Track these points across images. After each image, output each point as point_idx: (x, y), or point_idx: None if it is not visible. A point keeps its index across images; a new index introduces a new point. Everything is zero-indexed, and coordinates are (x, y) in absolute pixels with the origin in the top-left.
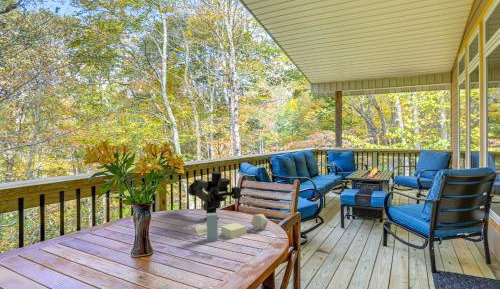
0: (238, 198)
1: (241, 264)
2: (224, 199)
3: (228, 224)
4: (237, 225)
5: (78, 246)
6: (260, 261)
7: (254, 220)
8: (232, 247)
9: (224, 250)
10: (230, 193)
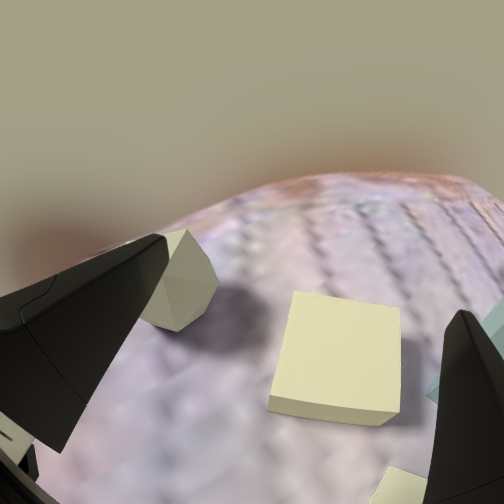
0: (157, 283)
1: (449, 205)
2: (465, 314)
3: (335, 406)
4: (311, 340)
5: None
6: (407, 185)
7: (208, 271)
8: (428, 272)
9: (459, 275)
10: (27, 484)
